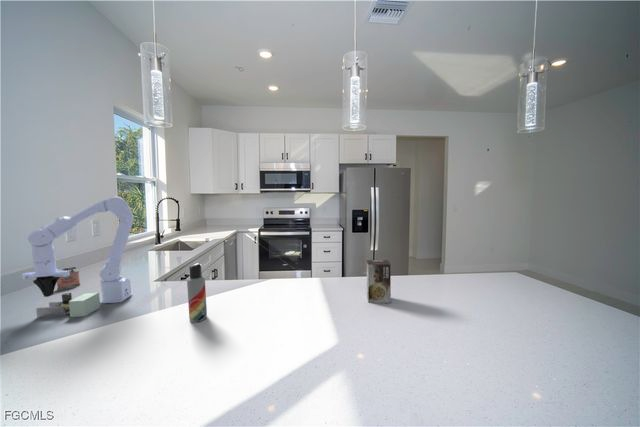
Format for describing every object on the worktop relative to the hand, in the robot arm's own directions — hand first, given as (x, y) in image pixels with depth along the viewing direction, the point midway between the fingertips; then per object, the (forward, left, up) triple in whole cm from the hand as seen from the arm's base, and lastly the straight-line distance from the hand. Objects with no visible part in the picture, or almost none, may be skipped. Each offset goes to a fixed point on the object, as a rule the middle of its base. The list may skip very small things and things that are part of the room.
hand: (48, 295), depth 96 cm
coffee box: (-128, +5, -7) cm, 128 cm away
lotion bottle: (-59, +12, -7) cm, 61 cm away
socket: (-14, +1, -7) cm, 15 cm away
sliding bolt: (-11, +1, -6) cm, 12 cm away
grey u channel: (-4, +1, -7) cm, 8 cm away
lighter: (+16, -28, -7) cm, 33 cm away
